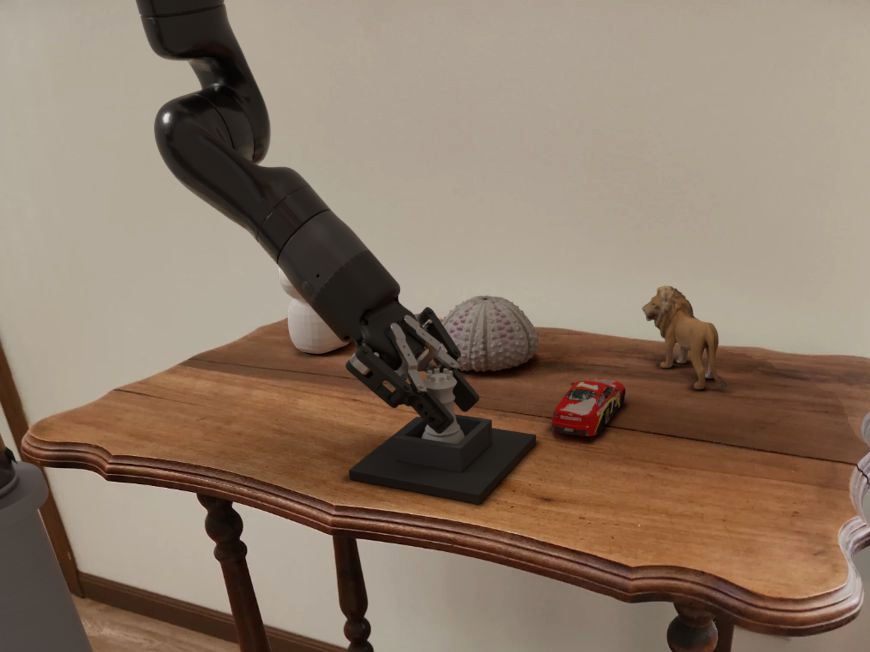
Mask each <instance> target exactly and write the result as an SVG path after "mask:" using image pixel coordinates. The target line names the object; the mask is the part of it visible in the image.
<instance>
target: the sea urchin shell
mask: <svg viewBox="0 0 870 652" xmlns="http://www.w3.org/2000/svg"><path fill="white" fill-rule="evenodd" d="M441 323H442V325H443V326H444V328H445V329H446V331H447V332H448V334H449V335H450V337H451V338H452V340H453V341H454V343H455V344H456V346H457V347H458V349H459V350H460V352H461V356H460V357H459V358H458V359H457V367H456V368H457V370H460V372H463V371H465V372H469V371H475V372H483V373H484V372H486V371H492V372H496V371H501V370H503V369H504V370H507V369H511V368H513V367H519V366H520V365H522V364H525V363H527V362H528V361H529V360H531V359H533V357H534V354H536V353H537V349H538V347H539V340H540V339H539V337H538V334H539V331H537V329H536V327H535V326H534V324H533V323H532V322H531V320H530V319H529V318H528V316H527V315H526V314H525V312H524V310H522V309H520V307H519V305H516V304H515V303H514V302H513V301H511V300H509V299H507V298H504V297H502V296H491V295H477V296H473V297H471V298H468V299H466V300H465V301H462V302H461V303H459V304H456V305H455V307H454V308H453V309H452V310H449V312H448V314H447V315H446V316H443V320H442V321H441ZM441 349H442V350H443V351H444V352H446V353H447V352H448V351H447V350H446V348H445V347H444V345H443V344H441Z"/></svg>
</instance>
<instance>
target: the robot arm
mask: <svg viewBox="0 0 870 652" xmlns="http://www.w3.org/2000/svg"><path fill="white" fill-rule="evenodd" d="M135 3H136V7H137V10H138V14H139V15H140V16H139V17H140V22H141V25H142V28H143V31H144V34H145V37H146V40H147V42H148V45H149V47H150V48H151V50H152V52H153V53H154V54H155V55H157V56H158V57H159V58H161V59H164V60H166V61H174V62H175V61H177V62H187V63H188V64H189V66H190V67H191V70H192V71H193V73H194V74H195V76H196V78H197V80H198V82H199V84H200V87H201V89H200V90H199V89H198V90H195V91H193V92H190V93H187V94H183V95H180V96H176V97H174V98H172V99H170V100H169V101H167V102H165V103H164V104H162V105H161V107H160V108H159V109H158V111H157V113H156V115H155V118H154V123H153V134H154V141H155V144H156V146H157V150H158V152H159V155H160V157H161V158H162V160H163V162H164V164H165V166H166V167H167V169H168V170H169V171H170V173H171V174H172V175H173V176H174V177H175V179H177V181H178V182H179V183H180V184H182V185H183V187H184V188H185V189H187V190H188V191H189V192H191V193H192V194H193V195H195V196H196V197H198V198H199V199H200V200H202V201H203V202H204V203H207V205H208V206H210V207H212V208H213V209H215V210H216V211H217V212H218V213H220V214H221V215H223V216H224V217H226V218H227V219H228V220H230V221H231V222H233V223H235V224H237V225H238V226H240V228H242V229H244V230H246V231H247V232H248V233H249V234H250V235H251V237H253V239H254V240H255V241H256V242H257V243H258V244H259V246H260V247H261V248H262V249H263V250H264V251H265V252H266V253H267V255H268V256H269V257H270V258H271V259H272V260H273V262H274V263H275V264H276V265H277V266H278V268H279V267H280V268H281V270H282V271H283V272H284V274H285V275H286V277H287V278H288V280H289V281H290V283H291V284H292V285H293V287H294V288H295V289H296V290H297V291H298V293H299V294H300V295H301V296H302V297H303V298H304V299H305V301H306V302H307V303H308V304H309V305H310V306H311V307H312V308H313V310H314V311H315V312H316V313H317V314H318V315H319V316H320V317H321V319H322V320H323V321H324V322H325V323H326V324H327V325H328V327H329V328H330V329H331V330H332V331H333V332H334V333H335V334H336V336H337V337H338V338H339V339H340V340H341V341H343V342H349V343H351V342H353V343H354V345H355V347H356V350H355V352H354V353H353V354H352V355H351V357H350V358H349V359H348V360H347V361H346V362H345V369H346V370H347V372H349V374H351V375H352V376H354V377H355V378H356V379H357V380H358V381H360V383H362V384H363V385H364V386H365V387H366V388H368V390H370V391H371V392H373V393H374V394H375V395H376V396H377V397H378V398H379V399H380V400H382V401H383V402H384V403H385V404H386V405H388V406H389V407H390V408H392V409H397V408H398V407H399V406H402V405H404V406H406V407H409V408H412V409H413V410H414V411H415V412H416V414H418V415H419V417H421V418H422V419H423V420H424V421H425V422H426V423H427V425H428V426H429V427H430V428H432V429H433V430H434V431H435V432H436V433H438V434H441V433H442V432H444V431H445V430H446V429H447V428H448V427H449V426H450V425H451V424H452V423H453V422H454V417H453V416H452V415H451V413H450V412H449V411H448V410H447V409H446V408H445V407H444V405H443V404H442V403H441V402H440V401H439V400H438V399H437V397H436V396H435V395H434V394H433V393H432V392H431V391H430V389H429V390H428V391H427V389H426V386H425V384H424V380H423V379H422V376H421V375H420V372H424V373H425V374H427V371H429V370H431V371H432V374H434V369H438V368H439V372H440V373H443V369H444V368H445V369H449V371H452V372H453V377H454V378H455V379H456V381H457V383H456V385H455V387H454V388H453V394H454V396H455V399H454V403H455V405H456V406H457V407H458V408H459V409H460V411H462V412H463V413H467V412H469V411H470V410H471V409H472V408H473V407H474V406H475V405H476V404H478V402H480V396H479V393H477V391H476V390H475V389H474V387H472V385H471V384H470V383H469V382H468V380H466V378H465V377H464V376H463V374H462V373H461V372H460V371H459V369H457V368H456V367H457V359H458V358H459V357H460V356H461V352H460V350H459V349H458V347H457V346H456V344H455V343H454V341H453V340H452V338H451V337H450V335H449V334H448V332H447V331H446V329H445V328H444V326H443V325H442V321H441V320H440V318H439V317H438V315H437V314H436V312H435V311H434V310H433V309H432V308H431V307H429V306H426V307H425V308H424V309H423V310H422V311H421V312H420V313H413V312H412V311H411V310H410V309H408V308H407V307H405V306H404V305H403V304H402V303H401V302H400V300H399V296H400V293H401V286H400V285H401V284H399V282H398V281H397V280H396V278H394V276H393V275H392V274H391V273H390V272H389V271H388V270H387V268H386V267H385V266H384V265H383V264H382V262H380V260H379V259H378V258H377V256H375V254H374V253H373V252H372V251H371V250H370V249H369V247H368V246H367V245H366V244H365V243H364V242H363V240H362V239H361V238H360V237H359V236H358V234H357V233H356V232H355V231H354V230H353V229H352V228H351V227H350V226H349V225H348V224H347V223H346V222H345V221H344V220H342V219H341V218H340V217H339V216H338V215H337V214H336V213H335V212H334V211H333V210H332V209H331V208H330V206H329V205H328V204H327V203H326V202H325V201H324V200H323V198H322V197H321V196H320V195H319V194H318V193H317V192H316V190H315V189H314V188H313V187H312V186H311V184H310V183H309V182H308V181H307V180H306V179H305V178H304V177H303V176H302V175H301V174H300V173H299V172H298V171H296V170H295V169H293V168H291V167H288V166H262V165H259V164H261V163H262V162H263V161H264V160H265V159H266V157H267V155H268V153H269V149H270V145H271V139H272V138H271V136H272V129H271V128H272V127H271V120H270V114H269V110H268V107H267V104H266V101H265V99H264V96H263V94H262V92H261V90H260V87H259V85H258V83H257V81H256V78H255V77H254V74H253V72H252V70H251V67H250V65H249V64H248V60H247V58H246V56H245V54H244V51H243V50H242V47H241V45H240V43H239V41H238V39H237V37H236V35H235V32H234V31H233V28H232V26H231V24H230V21H229V17H228V16H229V15H228V12H227V6H226V4H225V0H135ZM441 344H443V345H444V347H445V348H446V350H447V351H448V352H447V353H446V352H444V351H443V350H442V349H441ZM432 360H433V362H434V363H435V364H434V363H432ZM407 380H408V381H409V382H408V381H407ZM384 382H386V384H387V386H388V387H390V388H394V390H393V391H392V390H390V389H389V388H388V387H386V386H385V385H384V384H383V383H384ZM12 461H14V462H15V463H16V464H17V462H16V461H17V460H16V457H15V454H14V451H13V450H12V449H11V448H9V447H8V446H6V444H5V441H4V438H3V436H2V433H0V498H2V497H4V496H6V495H7V494H9V493H10V492H11V491H13V490H14V489H15V488H16V486H17V485H18V483H19V476H18V473H17V471H16V469H15V468H14V466H13V464H12ZM17 465H18V464H17Z"/></svg>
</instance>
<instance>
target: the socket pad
mask: <svg viewBox="0 0 870 652" xmlns="http://www.w3.org/2000/svg"><path fill="white" fill-rule="evenodd" d="M455 416H456V421H457V424H459V426H460V429H461V430H462V432H463V433H464V436H465V437H464V438H463V439H462V440H461V441H460V442H459V443H458V444H453V443H447V442H441V441H435V440H428V439H422V435H423V433H424V432H425V431H426V430H425V428H426V426H427V423H426V422H425V421H424V420H423V419H422V418H421V417H420V416H415V417H414V418H413V419H412V420H411V421H409V422H408V423H406V424H405V425H403V426H402V427H401V428H400V429H399V430H397V431H396V432H395V433H394V434H393V435H391V436H390V437H389V438H387V439H386V440H385V441H384V442H382V443H381V444H380V445H379V446H377V447H376V448H375V449H373V450H371V452H370V453H369V454H367V455H366V456H364V457H363V458H362V459H361V460H360V461H358V462H357V463H355V465H353V466H352V467H350V468H349V469H348V477H349V480H352V481H359V482H363V483H368V484H374V485H377V486H383V487H389V488H392V489H393V488H394V489H398V490H399V489H400V490H404V491H409V492H414V493H419V494H425V495H430V496H435V497H440V498H445V499H450V500H456V501H460V502H465V503H471V504H475V505H480V504H481V503H482V502H483V501H484V500H485V499H486V498H487V497H488V496H489V495H490V494H491V492H493V490H494V489H495V488H496V487H497V486H498V485H499V484H500V483H501V482H502V480H504V478H505V477H507V476H508V474H509V473H510V472H511V471H512V470H513V469H514V468H515V467H516V465H518V464H519V462H520V461H521V460H522V459H523V458H524V457H525V456H526V455H527V453H529V452H530V450H532V448H533V447H534V446H535V445H536V444H537V434H534V433H528V432H521V431H515V430H509V429H508V430H507V429H502V428H495V427H493V420H492V419H490V418H483V417H476V416H470V415H464V414H457V413H455Z"/></svg>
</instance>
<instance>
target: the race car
mask: <svg viewBox="0 0 870 652" xmlns="http://www.w3.org/2000/svg"><path fill="white" fill-rule="evenodd" d="M570 386H571V387H570V388H569V389H568V391H567V392H566V393H565V395H563V397H562V399H561V400H560V401H559V402H558V404H557V405H556V407H555V408H554V410H553V414H552V417H551V431H552V432H554V433H556V434H564V435H571V436H579V437H582V438H583V437H593V436H596V435H601V434H602V433H603V430H604V427H605V426H606V425H607V424H608V423H609V421H610V420H611V419H612V417H613V416H614V415H615V413H616V412H617V411H618V409H619V408H622V407H623V405H624V403H625V398H626V391H627V390H626V387H625V385H624V384H623V383H621V382H620V381H617V380H615V379H610V378H606V377H605V378H603V377H601V378H600V377H599V378H598V377H597V378H596V377H595V378H588V379H584V380H578V381H576V382H570Z"/></svg>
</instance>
